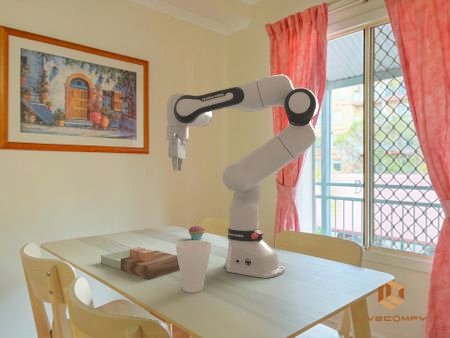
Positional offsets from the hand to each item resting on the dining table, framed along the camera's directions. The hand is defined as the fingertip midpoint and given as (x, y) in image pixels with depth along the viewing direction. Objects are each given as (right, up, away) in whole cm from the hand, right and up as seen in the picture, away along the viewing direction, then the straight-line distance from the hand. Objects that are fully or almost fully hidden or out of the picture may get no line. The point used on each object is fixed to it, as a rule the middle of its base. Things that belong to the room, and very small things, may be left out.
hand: (177, 170), depth 126 cm
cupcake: (+4, -37, +41) cm, 55 cm away
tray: (-18, -36, -2) cm, 40 cm away
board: (-7, -36, -11) cm, 38 cm away
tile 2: (-9, -32, -14) cm, 35 cm away
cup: (+9, -36, -31) cm, 48 cm away
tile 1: (-13, -32, -11) cm, 36 cm away
